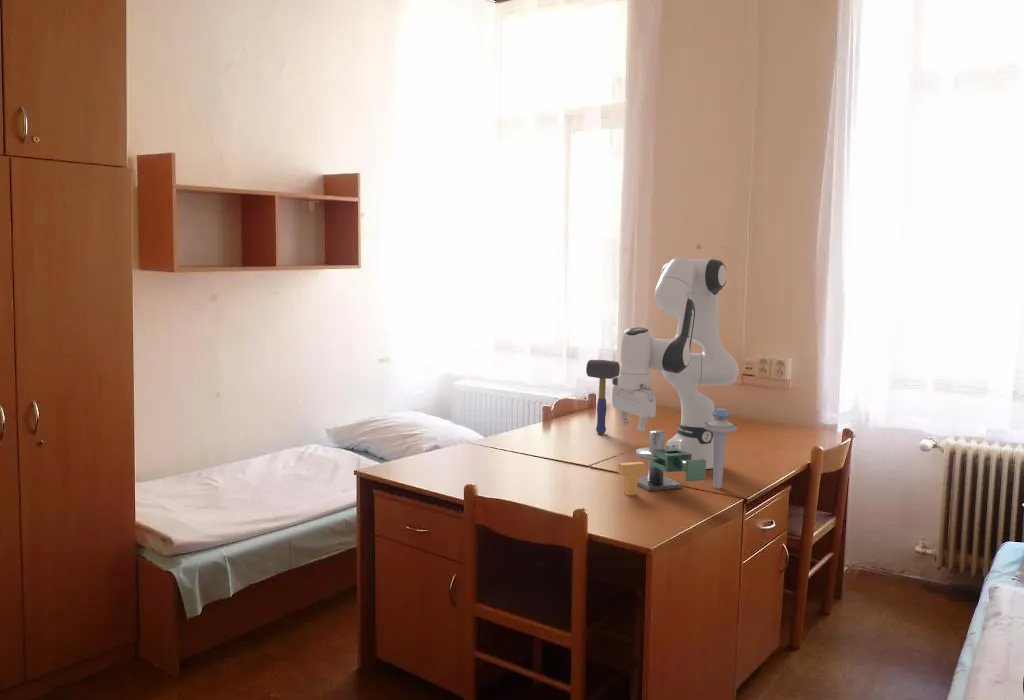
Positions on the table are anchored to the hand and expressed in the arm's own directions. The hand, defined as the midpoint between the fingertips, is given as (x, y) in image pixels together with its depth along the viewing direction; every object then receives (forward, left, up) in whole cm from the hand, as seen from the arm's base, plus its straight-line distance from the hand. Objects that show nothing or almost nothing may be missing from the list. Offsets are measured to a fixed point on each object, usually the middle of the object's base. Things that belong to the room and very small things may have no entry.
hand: (632, 427), depth 260 cm
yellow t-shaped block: (0, 0, -20) cm, 20 cm away
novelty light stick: (+2, +30, -21) cm, 37 cm away
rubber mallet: (-80, +32, -21) cm, 89 cm away
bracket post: (+1, +13, -20) cm, 24 cm away
